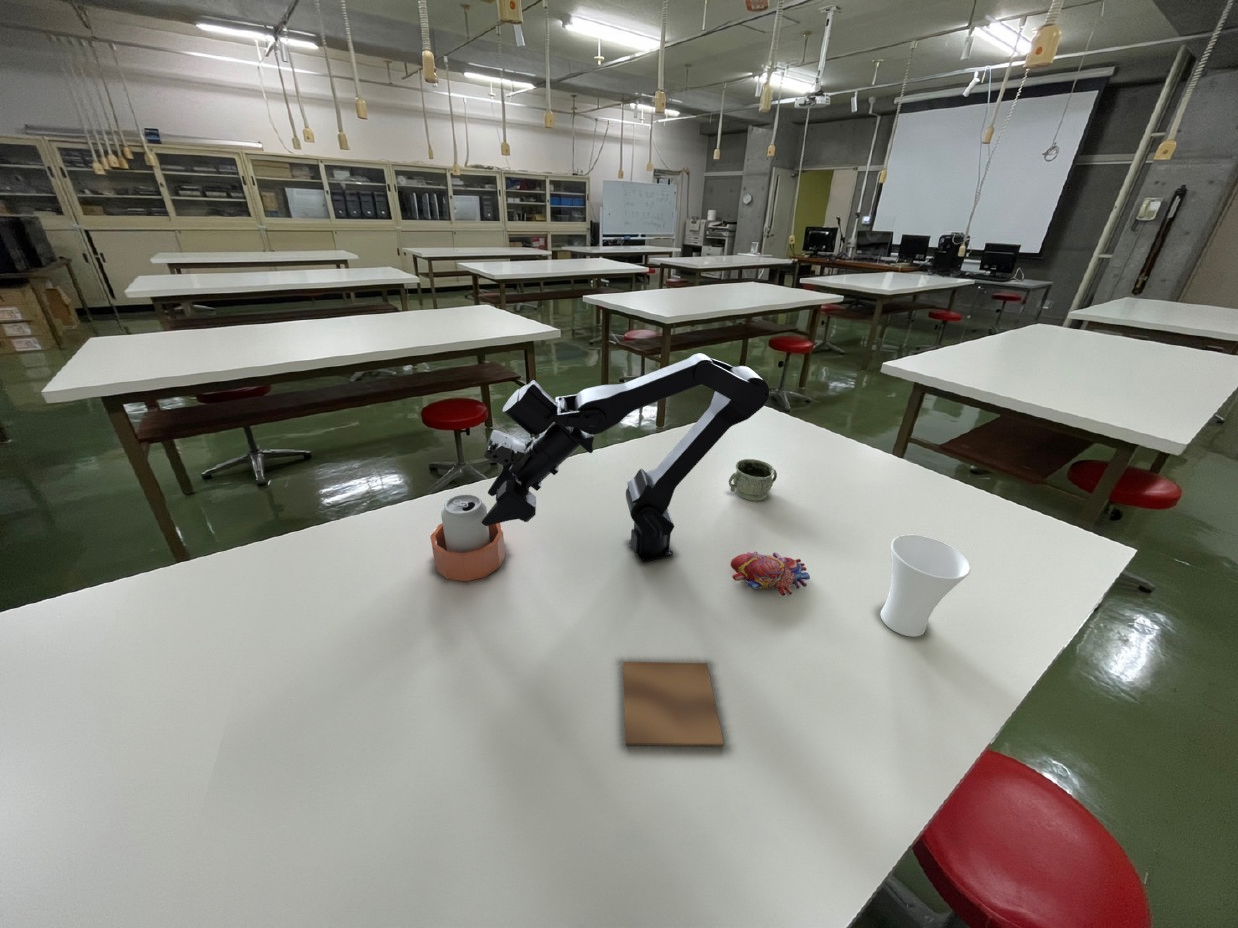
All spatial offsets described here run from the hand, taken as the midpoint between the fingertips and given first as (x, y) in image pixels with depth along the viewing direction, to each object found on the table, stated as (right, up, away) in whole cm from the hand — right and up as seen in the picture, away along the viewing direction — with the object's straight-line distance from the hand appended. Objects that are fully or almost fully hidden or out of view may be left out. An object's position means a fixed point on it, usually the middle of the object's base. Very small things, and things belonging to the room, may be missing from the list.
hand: (486, 508), depth 86 cm
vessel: (+53, +1, +29) cm, 60 cm away
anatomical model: (+49, -13, +3) cm, 51 cm away
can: (-4, -10, +5) cm, 11 cm away
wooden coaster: (+29, -24, -20) cm, 43 cm away
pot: (-4, -9, +5) cm, 11 cm away
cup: (+68, -18, -5) cm, 71 cm away
